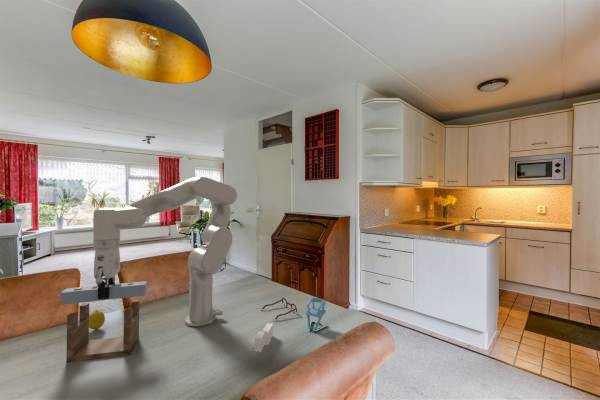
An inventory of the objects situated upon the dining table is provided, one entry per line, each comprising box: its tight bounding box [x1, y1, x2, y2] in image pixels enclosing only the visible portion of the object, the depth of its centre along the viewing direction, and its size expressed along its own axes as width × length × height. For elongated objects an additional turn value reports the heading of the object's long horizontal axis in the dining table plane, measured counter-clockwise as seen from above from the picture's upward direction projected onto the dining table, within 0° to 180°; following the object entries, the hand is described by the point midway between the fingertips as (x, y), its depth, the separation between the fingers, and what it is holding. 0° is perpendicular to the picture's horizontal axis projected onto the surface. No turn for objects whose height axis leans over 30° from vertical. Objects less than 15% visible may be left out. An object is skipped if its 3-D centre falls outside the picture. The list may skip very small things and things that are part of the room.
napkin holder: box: [254, 322, 274, 353], centre depth 100 cm, size 15×11×6 cm
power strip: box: [60, 280, 148, 306], centre depth 93 cm, size 24×4×4 cm, turn 111°
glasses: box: [261, 297, 298, 320], centre depth 127 cm, size 13×13×5 cm
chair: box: [305, 297, 327, 332], centre depth 113 cm, size 8×8×12 cm
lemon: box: [89, 309, 106, 331], centre depth 106 cm, size 6×6×8 cm
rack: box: [65, 299, 140, 363], centre depth 93 cm, size 18×10×15 cm, turn 106°
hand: (106, 295), depth 93 cm, fingers closed on power strip, 4 cm apart
